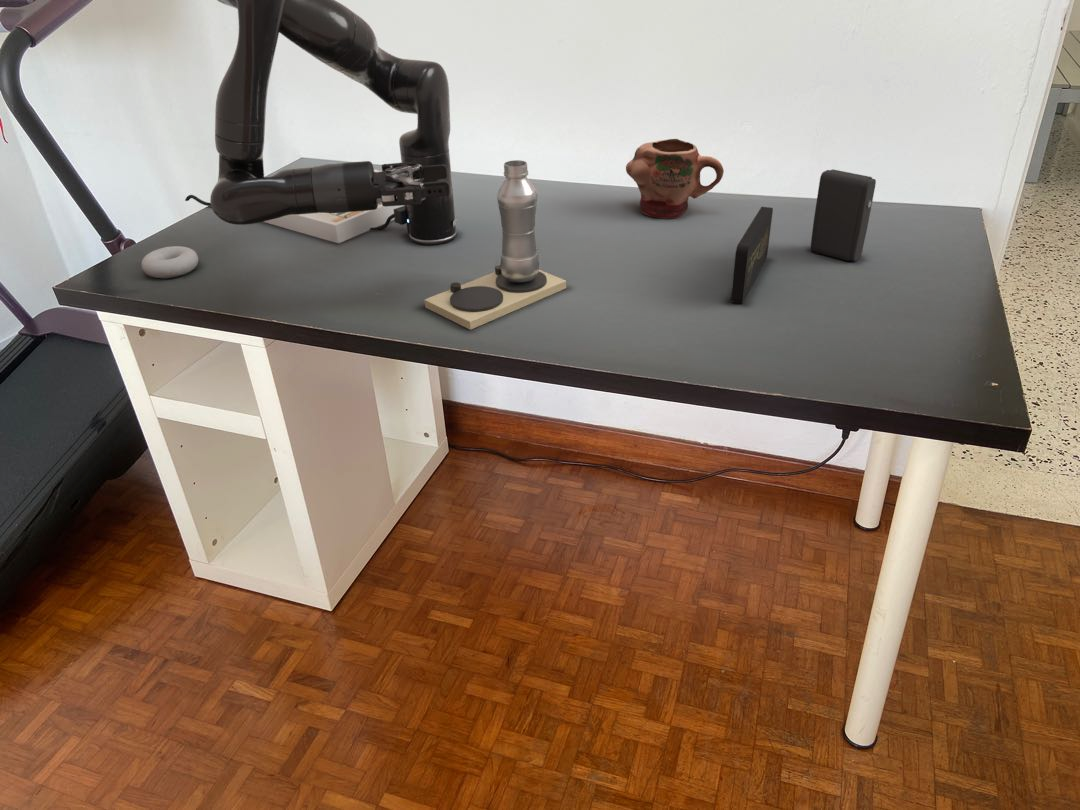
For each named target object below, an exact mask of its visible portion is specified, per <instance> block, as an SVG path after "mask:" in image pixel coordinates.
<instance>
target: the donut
mask: <svg viewBox="0 0 1080 810" xmlns="http://www.w3.org/2000/svg"><path fill="white" fill-rule="evenodd" d="M141 260H142V261H141V269H142V271H143V272H144V273H145V274H146V275H148V276H149V277H151V278H155V279H172V278H177V277H182V276H184V275H187V274H188V273H190V272H192V271H193V270H195V268H196V267H197V266H198V263H199V256H198V254H197V252H196V251H195V250H194V249H191V247H187V246H181V245H174V246H173V245H172V246H166V247H160V248H157V249H155V250H151V252H149V253H147V254H145V255H144V257H143V258H142V259H141Z"/></svg>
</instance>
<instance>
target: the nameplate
mask: <svg viewBox="0 0 1080 810" xmlns="http://www.w3.org/2000/svg"><path fill="white" fill-rule="evenodd" d="M773 210H774V207H768V206H761V207H760V208H759V210H758V211H757V213H756V215H755V216H754V218H753V220H752V221H751V223H750V224H749V226H748V228H747V229H746V230H745V232H744V234H743V235H742V237H741V239H740V240H739V242H738V243H737V246H736V250H735V256H734V257H735V258H734V265H733V276H732V285H731V286H732V287H731V296H730V302H732V303H737V304H744V302H745V301H746V299H747V297H748V295H749V294H750V292H751V289H752V288H753V286H754V284H755V282H756V280H757V278H758V277H759V274H760V272H761V271H762V269H763V267H764V265H765V263H766V261H767V258H768V251H769V245H770V236H771V228H772V220H773V212H774V211H773Z"/></svg>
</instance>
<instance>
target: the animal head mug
mask: <svg viewBox="0 0 1080 810" xmlns="http://www.w3.org/2000/svg"><path fill="white" fill-rule="evenodd" d="M705 168H711V169H713V170H714V172H715V175H716V177H715V179H714V180H713V181H712V182H711V183H709V184H708V185H703V184H701V172H702V170H703V169H705ZM724 170H725V169H724V167H723V165H722V162H721V161H720V160H718V159H717V158H715V157H712V156H707V155H701V154H700V153H699V150H698V148H697V146H696V145H695V144H694V143H691V142H690V141H685V140H681V139H678V138H669V139H661V140H657V141H650V142H645V143H643V144H641V145H640V146H639V147H637V148H636V149H635V151H634V155H633V158H631V160H630V161H628V162H627V163H626V165H625V171H626V172H625V173H626V174H627V175H628V176H629V177H630V178H631V179H632V180H633V181H634V182H635V184H636V186H637V187H638V190H639V192H640V201H639V209H640V212H641V213H643V214H644V215H646V216H649V217H652V218H658V219H677V218H679V217H681V216H683V215H684V214H685V213H686V212H687V211H688V208H689V201H688V200H689V198H692V199H698V197H700V196H702V195H705V194H707V193H708V192H709V191H711V190H712V189H714V188H715V187H716V186H717V185H718V184H719V183H720V182H721V180H722V179H723V176H724V173H725V171H724Z"/></svg>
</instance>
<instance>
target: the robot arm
mask: <svg viewBox="0 0 1080 810" xmlns="http://www.w3.org/2000/svg"><path fill="white" fill-rule="evenodd" d="M216 1H217V2H219V3H221V4H223V5H225V6H227V7H231V8H234V9H236V10H237V16H238V17H237V19H238V34H237V35H238V36H237V42H236V46H235V47H236V48H235V51H234V54H233V57H232V59H231V62H230V63H229V66H228V67H227V70H226V72H225V74H224V76H223V78H222V79H221V82H220V84H219V88H218V91H217V94H216V100H215V111H214V112H215V113H214V114H215V115H214V145H215V150H216V152H217V153H218V174H217V175H218V177H217V182H216V184H215V185H214V187H213V189H212V190H211V193H210V199H209V202H207V201H204V200H203V199H200V198H199V197H198V196H196V195H194V194H189V195H187V196H186V197H185V199H184V201H185V202H188V201H190V200H191V199H193V200H194V201H196V202H197V203H199V204H201V205H203V206H207V207H211V210H212V212H213V213H214V214H215V216H217V218H219V219H220V220H221V221H223V222H225V223H228V224H231V225H239V226H240V225H241V226H245V225H254V224H259V223H264V222H263V221H268V220H272V219H276V218H280V217H283V216H286V215H298V214H311V213H318V212H319V213H343V212H356V211H368V210H376V209H377V207H378V198H379V199H382V206H385V207H387V206H402V205H404V206H402V207H399V208H396V209H394V214H392V215H391V216H389V217H388V219H387V220H386V222H385V224H383V225H381V226H378V227H375V228H370V230H369V231H368V232H370V231H382V230H385V229H386V228H387V227H388V226H389V225H390V223H391V222H392V221H393V220H392V219H393V218H395V220H394V223H395V224H398V225H400V226H404V225H406V229H407V230H406V231H407V236H409V240H410V241H411V242H413V243H416V244H420V245H440V244H444V243H448V242H451V241H453V240H454V239H455V238H457V235H458V232H457V231H458V230H457V226H456V224H457V223H458V217H457V216H456V214H455V213H456V212H455V203H454V192H453V191H454V190H453V189H454V188H453V179H452V177H453V176H452V167H451V157H450V156H451V155H450V145H449V142H450V141H449V140H450V134H451V110H450V109H451V108H450V107H451V103H450V86H449V79H448V76H447V73H446V71H445V69H444V67H443V66H442V65H441V64H440V63H438V62H437V61H430V60H421V59H420V60H419V59H409V58H400V57H397V56H395V55H393V54H391V53H389V52H387V51H385V50H384V49H382V48H381V47H380V46H379V45H378V44H379V43H378V40H377V36H376V34H375V32H374V30H373V28H372V27H371V26H370V24H368V22H367V21H366V20H364V18H363V17H361V16H360V15H358V14H357V13H355V12H354V11H353V10H351V9H349V8H348V7H347V6H346V5H344V4H342V3H340V2H339V1H337V0H216ZM280 34H281V35H282V36H283V37H284V38H286V39H287V40H288V41H290V42H292V43H293V44H294V45H295V46H297V47H299V48H300V49H302V50H303V51H304V52H306V53H307V54H309V55H310V56H312V57H313V58H315V59H316V60H318V61H319V62H321V63H323V64H324V65H325V66H328V67H330V68H331V69H333V70H335V71H337V72H339V73H341V74H343V76H346V77H347V78H349V79H351V80H353V82H354V81H355V82H356V83H358V84H361V85H362V86H364V87H366V89H368V90H369V91H370V92H372V93H373V94H374V95H375V96H377V97H378V98H379V99H380V100H381V101H383V102H384V103H385V104H386V105H388V106H389V107H390V108H391V109H393V110H396V111H398V112H400V113H406V114H413V115H417V127H416V128H415V129H412V130H410V131H407V132H405V133H402V134H401V136H400V137H399V139H398V141H399V142H398V144H399V153H400V154H399V155H400V160H401V162H394V163H384V164H381V170H380V171H381V172H374V165H373V163H372V161H370V160H364V161H363V160H362V161H351V162H339V163H338V162H337V163H326V164H322V165H317V166H307V167H295V168H287V169H282V170H280V171H278V172H276V173H275V174H273V175H271V176H265V170H264V155H263V154H264V146H265V136H266V135H265V133H266V111H267V100H268V99H267V98H268V91H269V85H270V84H269V83H270V79H271V73H272V67H273V65H274V64H273V63H274V58H275V53H276V50H277V45H278V39H279V35H280ZM391 220H392V221H391Z"/></svg>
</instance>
